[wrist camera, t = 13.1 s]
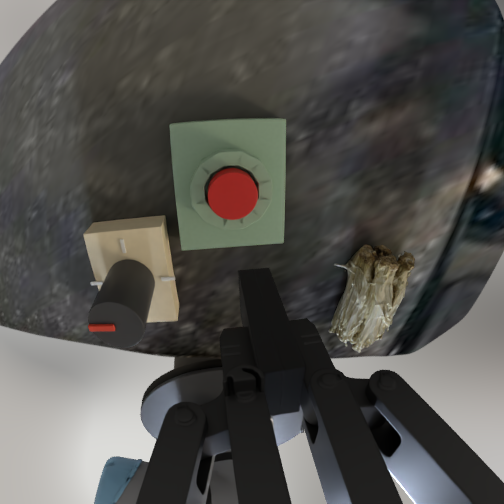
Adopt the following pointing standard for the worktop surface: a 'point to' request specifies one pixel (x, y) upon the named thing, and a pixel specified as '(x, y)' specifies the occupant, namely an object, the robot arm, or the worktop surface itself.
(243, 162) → the switch base
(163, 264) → the dial panel
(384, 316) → the mushroom
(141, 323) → the dial
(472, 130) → the worktop surface
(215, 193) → the switch button
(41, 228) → the worktop surface
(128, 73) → the worktop surface
